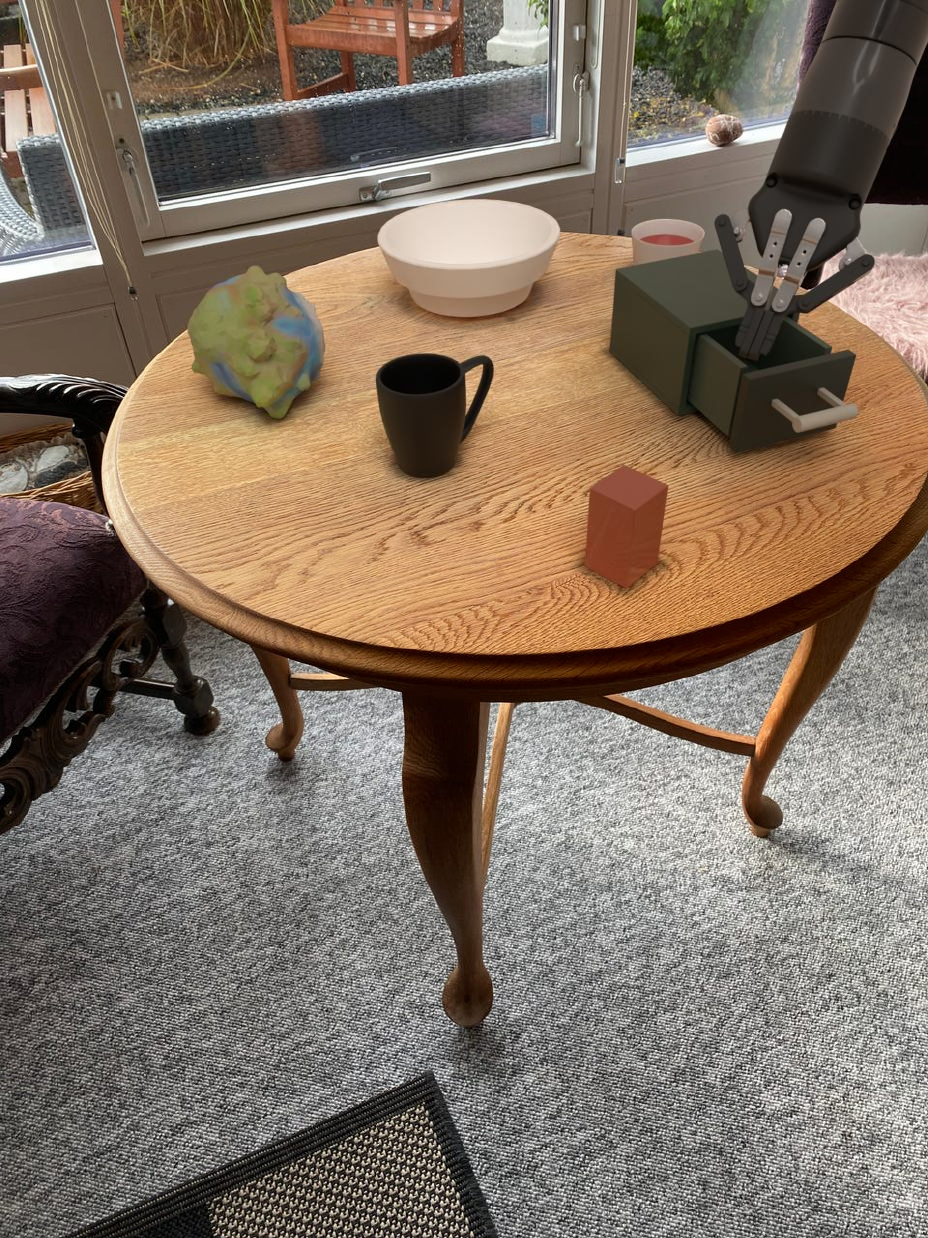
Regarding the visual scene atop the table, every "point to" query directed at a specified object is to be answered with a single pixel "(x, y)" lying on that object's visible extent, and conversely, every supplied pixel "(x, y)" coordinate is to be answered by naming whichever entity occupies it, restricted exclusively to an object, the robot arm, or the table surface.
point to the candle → (665, 240)
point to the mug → (429, 408)
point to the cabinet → (673, 318)
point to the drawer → (770, 386)
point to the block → (625, 525)
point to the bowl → (469, 254)
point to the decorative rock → (257, 340)
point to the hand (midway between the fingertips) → (748, 357)
